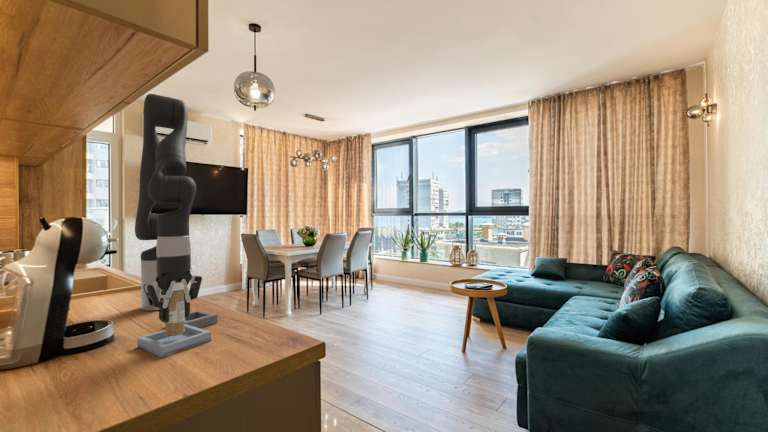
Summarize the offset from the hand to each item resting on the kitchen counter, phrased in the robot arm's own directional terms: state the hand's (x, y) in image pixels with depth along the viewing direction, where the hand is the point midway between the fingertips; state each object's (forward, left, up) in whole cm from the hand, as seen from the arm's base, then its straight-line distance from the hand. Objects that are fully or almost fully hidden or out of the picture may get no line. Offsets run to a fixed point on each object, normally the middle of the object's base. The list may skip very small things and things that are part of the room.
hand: (174, 318), depth 89 cm
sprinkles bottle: (0, 0, -4) cm, 4 cm away
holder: (-11, +11, -6) cm, 17 cm away
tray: (0, 0, -6) cm, 6 cm away
